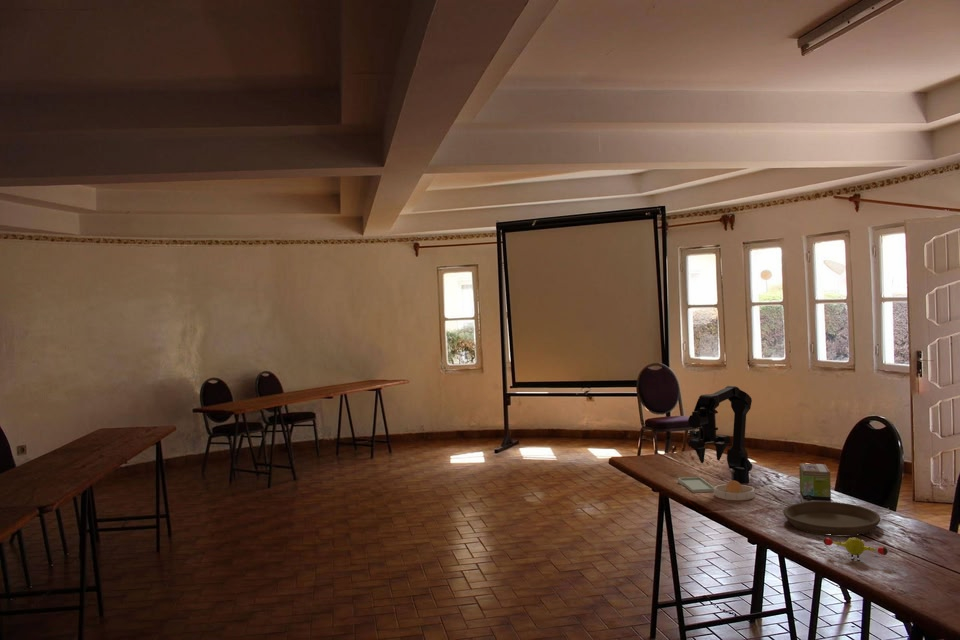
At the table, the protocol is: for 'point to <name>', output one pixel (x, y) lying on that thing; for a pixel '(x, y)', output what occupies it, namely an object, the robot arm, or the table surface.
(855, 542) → the toy figure
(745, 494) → the bowl
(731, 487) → the ball
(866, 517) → the plant saucer
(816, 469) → the tea box
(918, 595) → the table surface
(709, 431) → the robot arm
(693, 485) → the tray
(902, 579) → the table surface
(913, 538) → the table surface
